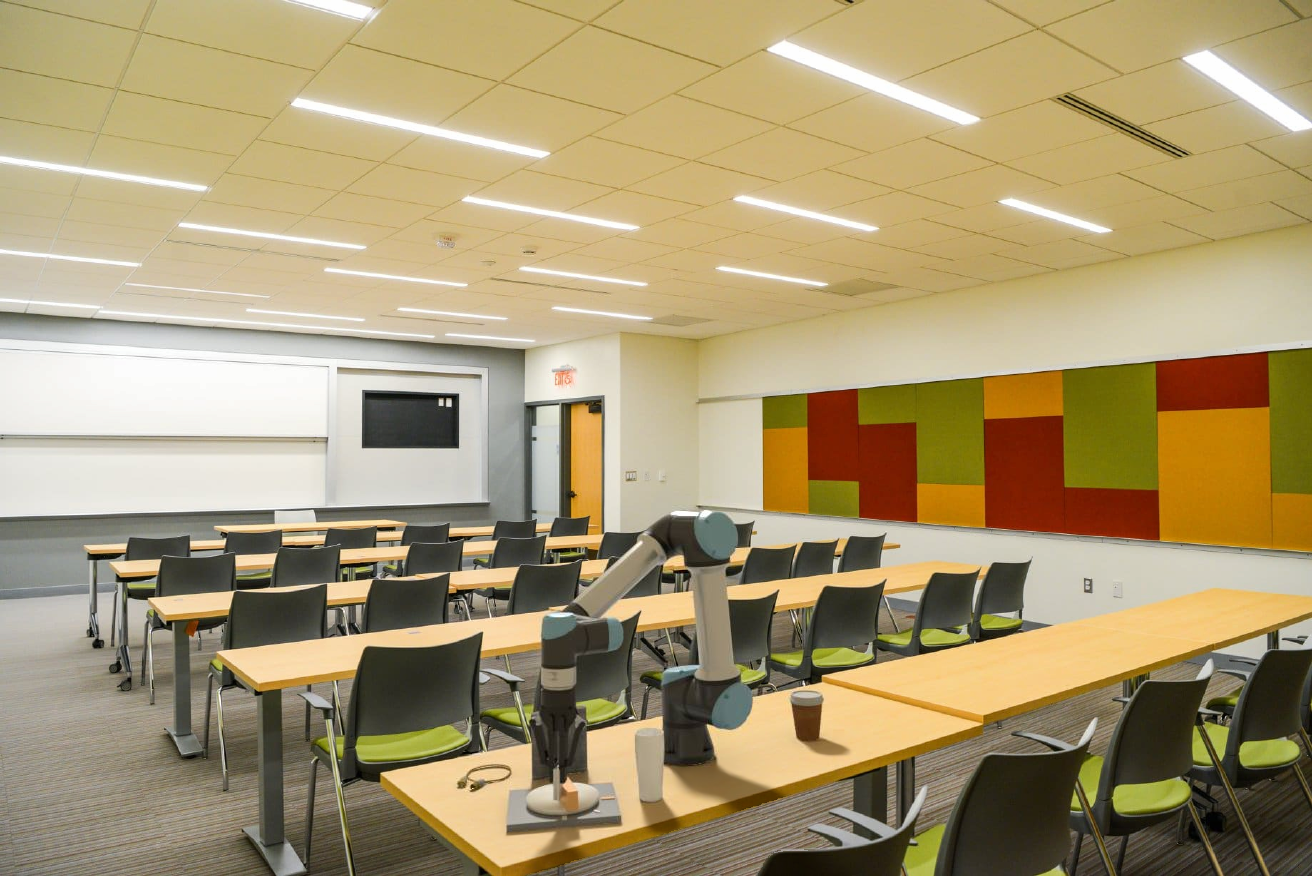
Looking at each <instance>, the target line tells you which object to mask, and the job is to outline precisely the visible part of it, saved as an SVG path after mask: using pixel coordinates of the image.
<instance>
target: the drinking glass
mask: <svg viewBox="0 0 1312 876" xmlns="http://www.w3.org/2000/svg"><path fill="white" fill-rule="evenodd" d="M634 752H635V763H636V773H637V782H638V797H639V799H640V800H641V801H642V802H646V803H655V802H658V801H660V800H662V798H663V784H664V783H663V782H664V764H665V763H664V731H663V730H662V728H658V727H643V728H639V729H636V730H635V731H634Z"/></svg>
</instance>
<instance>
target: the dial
mask: <svg viewBox="0 0 1312 876" xmlns="http://www.w3.org/2000/svg"><path fill="white" fill-rule="evenodd" d="M587 784H588V783H583V782H582V783H581V782H573V781H572V780H571V779H570V777H569V776H567V781H566V782H565V783H564V784H563V797H562V798H561V799H560V800H559V801H555V800H553V783H549V784H545V785H543V786H539V787H535V788H536V789H534V790H533V791H531V792H530V793H529V794H528V795H527V797H526V803H527V807H528V808H529V809H530V810H532V811H534V812H536V813H540V814H545V815H568V814H575V813H579V812H582V811H585V810H588V809H590V808H592V807H594V806H595V805H596V804H597V803H598V801H599V792H598V790H597V789H596V788H594V787H593V786H590V785H587Z"/></svg>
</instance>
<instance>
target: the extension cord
mask: <svg viewBox="0 0 1312 876" xmlns="http://www.w3.org/2000/svg"><path fill="white" fill-rule="evenodd" d="M484 768H485V769H491V768H501V769H505V768H506V769H505V770H508V771H509V772H508V774H507V775H506V776H504V777H502V778H501V777H500V778H498V779H497V778H496V779H491V780H489V779H488V780H485V779H483V778H481V779H477V780H474V779H471V778H470V777H469V774H470V773H472V772H471V771H473V772H475V771H479V770H478V769H480V770H484ZM511 775H512V768H511V767H510V766H509V765H507V764H500V763H499V764H498V763H497V764H496V763H495V764H493V763H492V764H485V765H484V764H483V765H480V766H477V767H473V768H471V769H470V770H469V771H467V773H466V775H465V776H463V777H461V778H459V780H458V781H457V782H456V785H457V787H458V788H465V787H464V786H466V787H467V784H468V780H469V779H470V780H469V781H471V782H473V781H475V782H473V783H471V784H470V785H469V787H470V790H471V789H472V788H474V789H473V791H476V790H478V789H480V788H481V787H483V785H484V784H486V783H487V784H495V783H494V782H501V781H504V780H506V779H507V777H508V776H509V777H510V776H511ZM509 777H508V778H509ZM467 778H468V779H467ZM505 778H506V779H505ZM462 786H463V787H462Z"/></svg>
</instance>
